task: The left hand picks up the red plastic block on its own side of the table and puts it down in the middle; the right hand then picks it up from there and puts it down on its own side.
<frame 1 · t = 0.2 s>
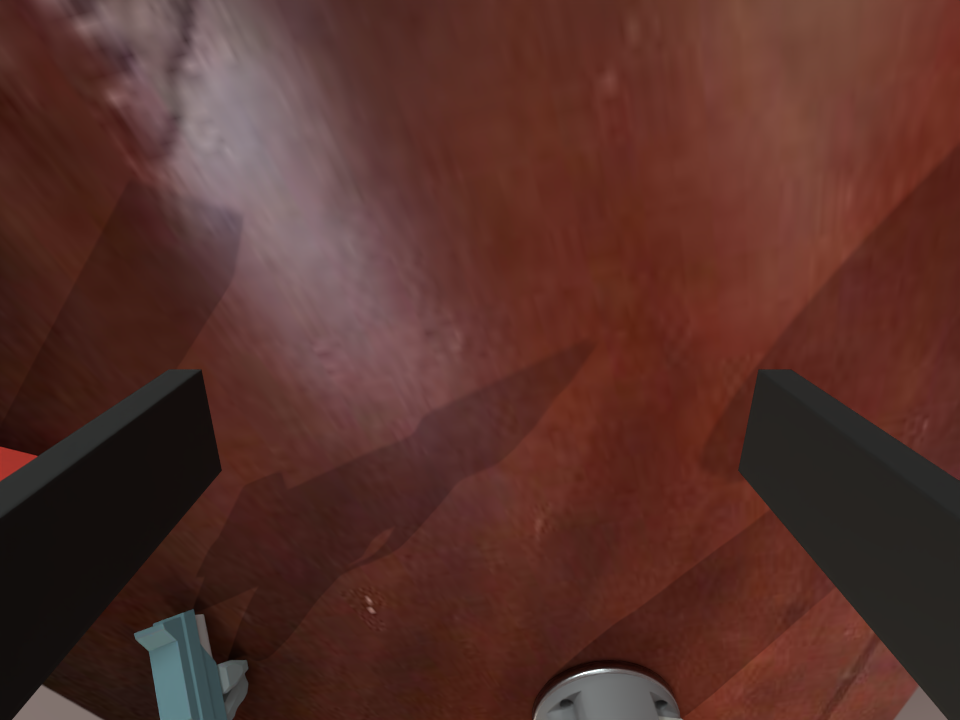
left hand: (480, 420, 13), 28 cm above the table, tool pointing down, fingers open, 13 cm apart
toy gun: (226, 652, 53), on the table
block: (39, 479, 46), on the table
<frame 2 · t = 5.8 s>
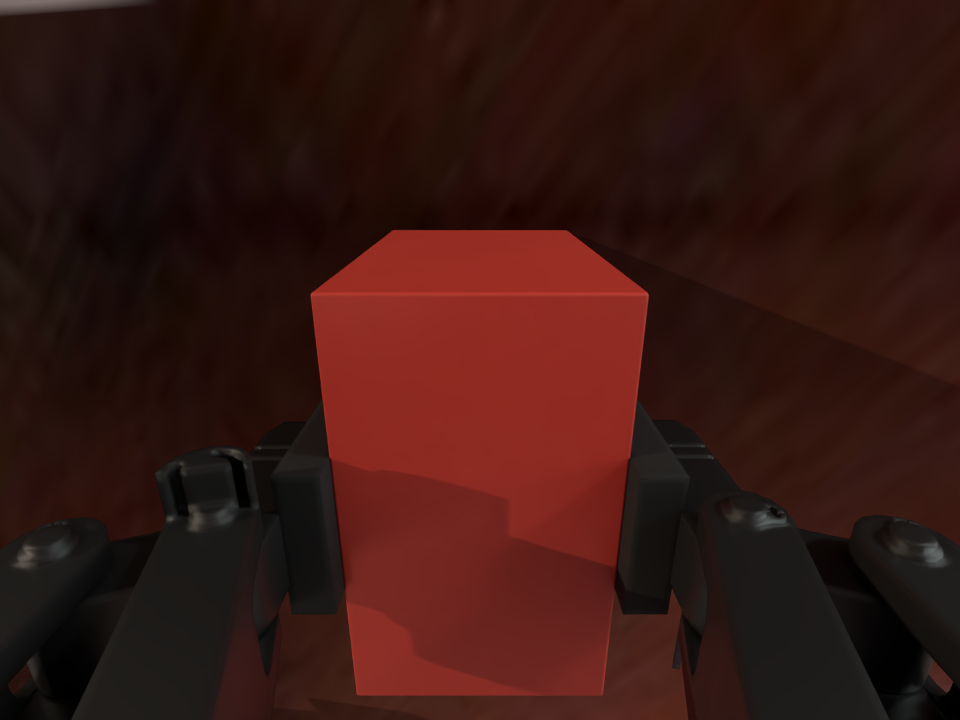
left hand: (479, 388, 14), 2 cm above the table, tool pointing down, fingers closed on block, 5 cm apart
block: (479, 366, 16), on the table, touching left hand
when the left hand's fingers open (3 cm above the table, at t = 20.7 s): block drops 2 cm, on the table.
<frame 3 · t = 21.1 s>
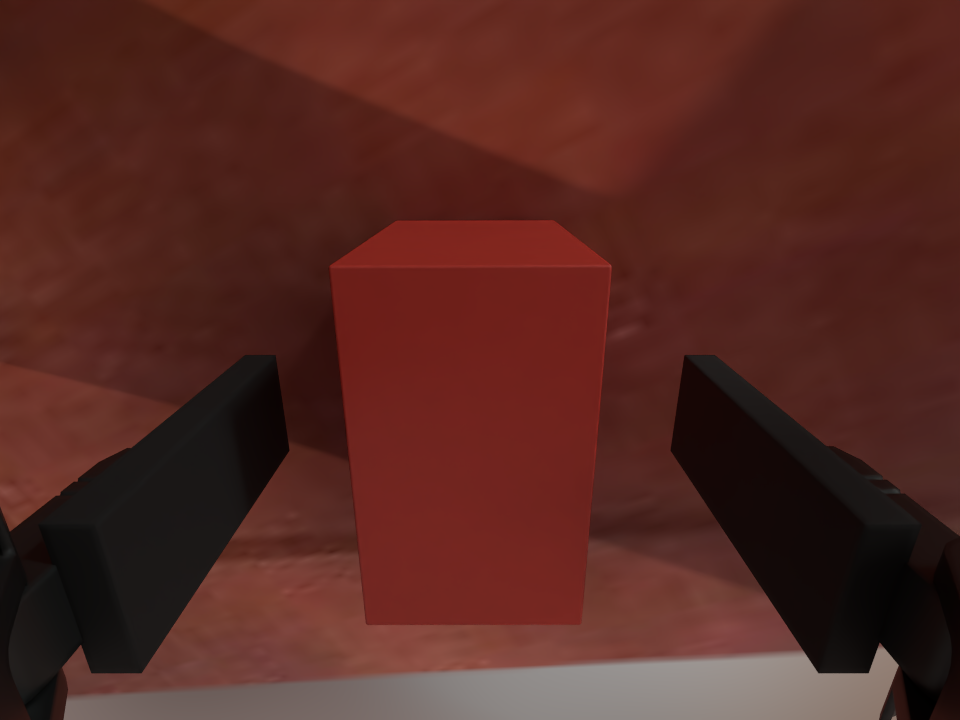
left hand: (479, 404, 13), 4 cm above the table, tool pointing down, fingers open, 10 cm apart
block: (475, 346, 17), on the table
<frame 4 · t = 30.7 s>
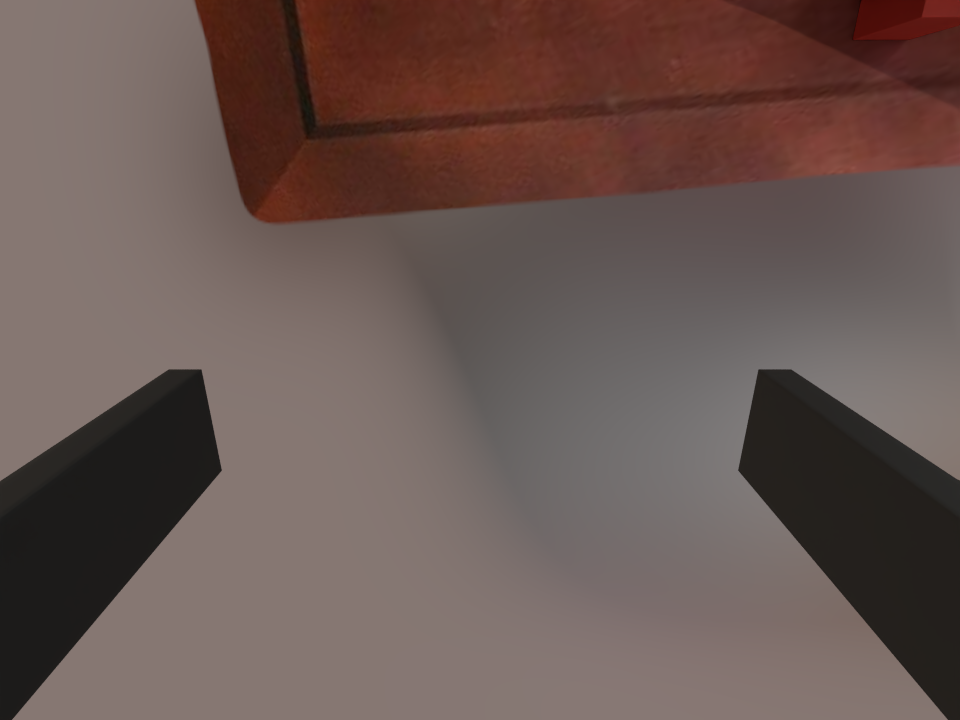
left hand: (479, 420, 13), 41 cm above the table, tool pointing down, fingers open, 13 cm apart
when the right hand's fingers open (3 cm above the table, at t = 46.8 s): block drops 1 cm, on the table.
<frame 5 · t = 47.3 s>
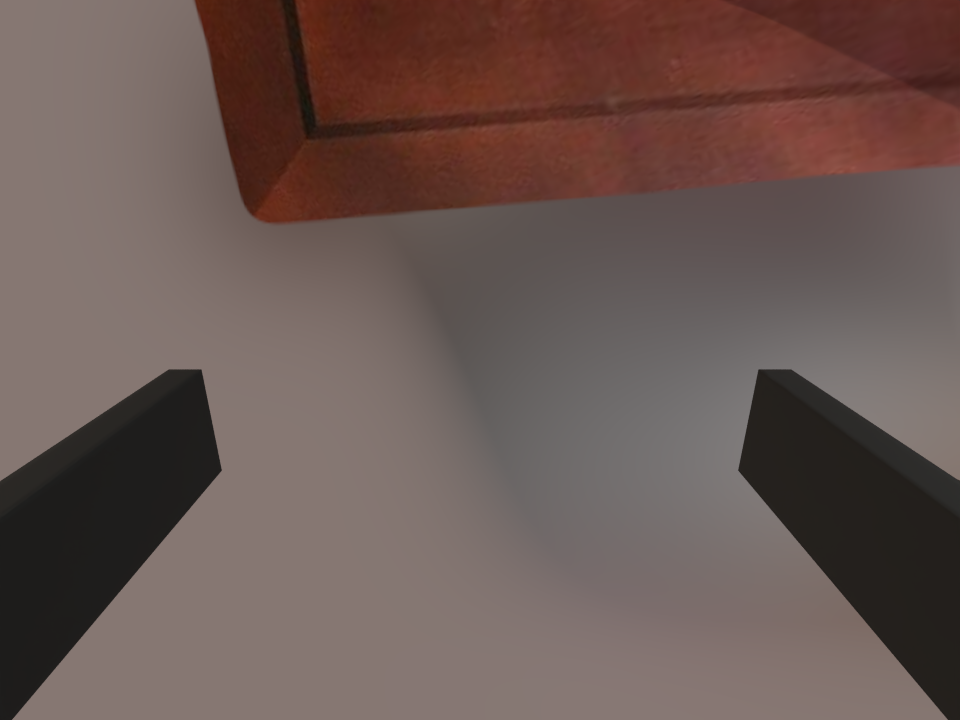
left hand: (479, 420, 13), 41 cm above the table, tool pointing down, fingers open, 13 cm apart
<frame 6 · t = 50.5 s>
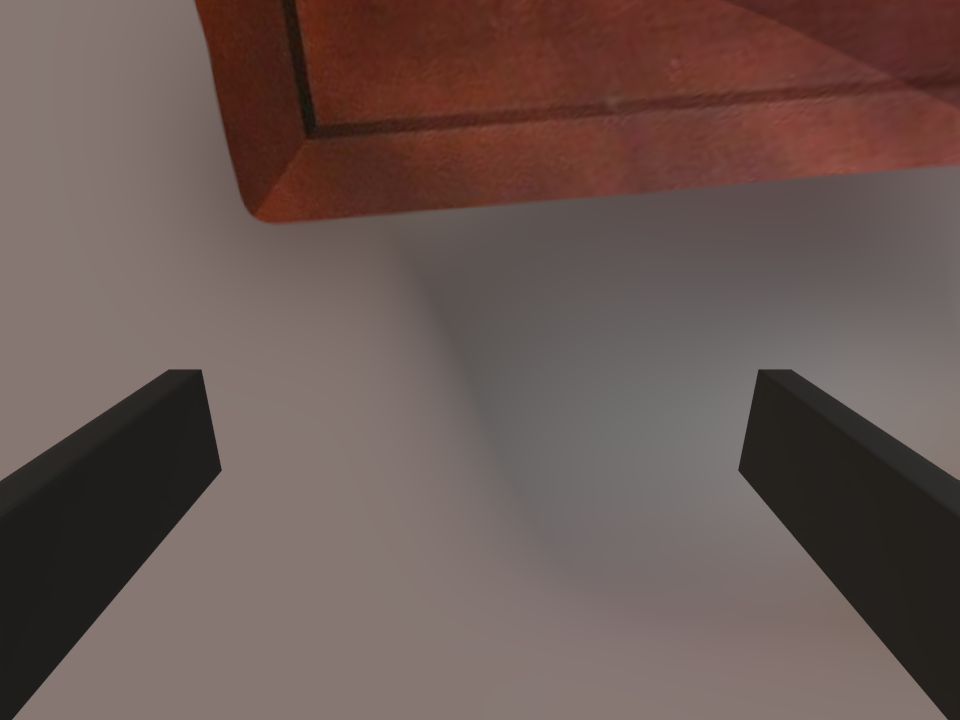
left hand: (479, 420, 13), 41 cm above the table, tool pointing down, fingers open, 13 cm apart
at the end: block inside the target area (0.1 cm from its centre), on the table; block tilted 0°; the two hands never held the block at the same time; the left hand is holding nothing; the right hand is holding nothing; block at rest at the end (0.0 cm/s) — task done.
